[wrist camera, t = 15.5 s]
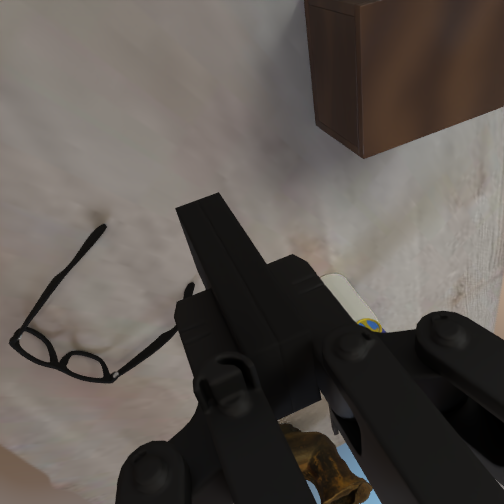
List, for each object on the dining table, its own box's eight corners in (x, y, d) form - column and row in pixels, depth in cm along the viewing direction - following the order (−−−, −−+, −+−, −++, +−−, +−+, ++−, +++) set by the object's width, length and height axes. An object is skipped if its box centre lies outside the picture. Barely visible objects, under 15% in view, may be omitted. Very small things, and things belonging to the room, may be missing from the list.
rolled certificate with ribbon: (299, 281, 65) (402, 423, 46) (350, 264, 67) (469, 394, 48) (301, 320, 70) (394, 462, 51) (347, 303, 72) (455, 434, 53)
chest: (443, -49, 46) (517, -45, 38) (433, 84, 54) (491, 106, 47) (302, -7, 43) (354, 4, 36) (315, 125, 52) (358, 156, 44)
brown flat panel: (525, -48, 39) (532, -47, 38) (498, 104, 47) (503, 106, 47) (354, 4, 36) (359, 6, 35) (359, 156, 44) (363, 159, 44)
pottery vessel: (316, 394, 84) (375, 493, 69) (331, 417, 92) (388, 512, 77) (205, 463, 84) (240, 579, 69) (229, 481, 91) (266, 589, 76)
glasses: (-5, 317, 51) (-11, 349, 48) (97, 216, 48) (100, 242, 44) (108, 364, 62) (111, 393, 58) (198, 284, 59) (208, 310, 55)
